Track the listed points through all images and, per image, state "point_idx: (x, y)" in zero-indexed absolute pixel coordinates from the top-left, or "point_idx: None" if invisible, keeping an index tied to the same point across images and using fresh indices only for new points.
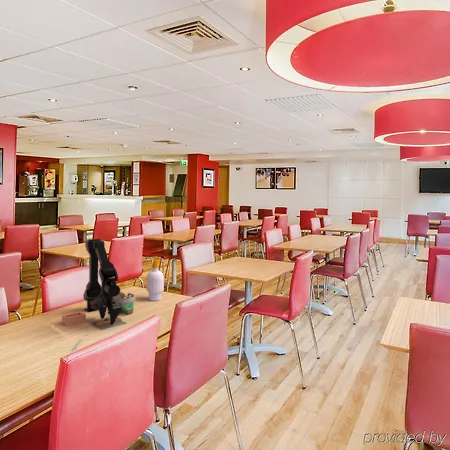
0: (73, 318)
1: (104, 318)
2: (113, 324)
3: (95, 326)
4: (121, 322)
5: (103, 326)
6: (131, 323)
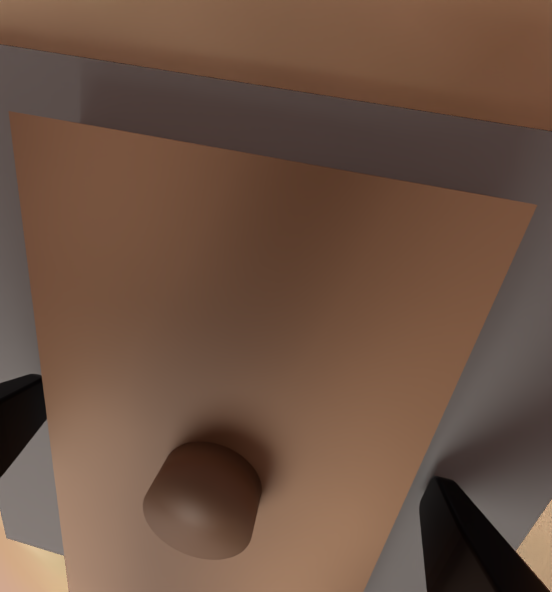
0: None
1: (349, 518)
2: None
3: (207, 83)
4: None
5: None
6: (45, 563)
